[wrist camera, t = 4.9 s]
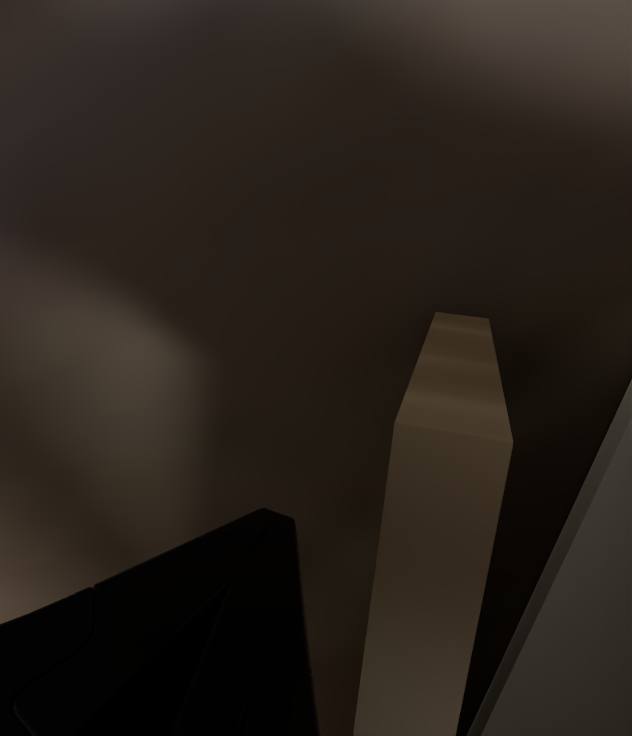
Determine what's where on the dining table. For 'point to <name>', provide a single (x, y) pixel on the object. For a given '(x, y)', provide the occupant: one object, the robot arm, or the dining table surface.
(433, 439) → the beige plank
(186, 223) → the dining table surface
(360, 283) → the dining table surface
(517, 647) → the pale slab
